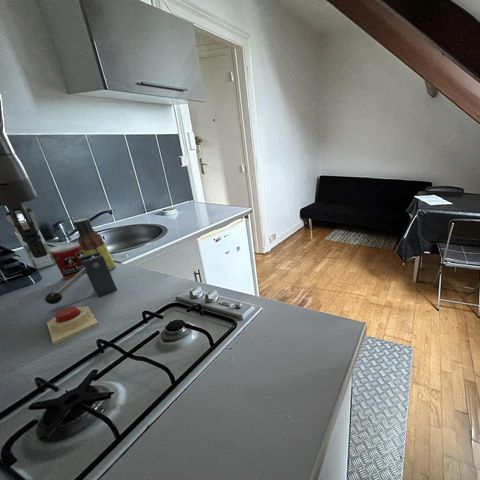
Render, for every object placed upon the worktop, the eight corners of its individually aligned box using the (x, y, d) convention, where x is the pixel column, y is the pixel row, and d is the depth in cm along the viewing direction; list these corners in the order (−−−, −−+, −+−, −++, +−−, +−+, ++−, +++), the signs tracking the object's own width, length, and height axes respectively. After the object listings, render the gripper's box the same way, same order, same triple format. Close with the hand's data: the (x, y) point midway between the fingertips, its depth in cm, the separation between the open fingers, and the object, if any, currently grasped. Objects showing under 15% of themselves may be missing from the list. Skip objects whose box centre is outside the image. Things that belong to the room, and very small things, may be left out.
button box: (50, 329, 65) (43, 316, 63) (90, 312, 70) (84, 299, 69) (57, 349, 58) (48, 335, 56) (101, 329, 63) (94, 316, 62)
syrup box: (53, 260, 104) (35, 226, 98) (56, 264, 100) (39, 229, 95) (33, 266, 99) (13, 231, 94) (36, 270, 96) (16, 234, 91)
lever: (55, 308, 68) (41, 302, 66) (53, 303, 70) (40, 298, 68) (104, 263, 74) (93, 256, 72) (101, 260, 76) (91, 253, 74)
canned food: (63, 283, 86) (48, 253, 81) (64, 275, 91) (50, 246, 87) (93, 274, 90) (80, 246, 86) (92, 267, 96) (79, 239, 92)
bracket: (88, 310, 71) (67, 269, 66) (81, 298, 77) (62, 260, 72) (133, 291, 79) (118, 253, 74) (124, 282, 84) (110, 246, 79)
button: (56, 318, 62) (53, 312, 62) (78, 310, 65) (75, 304, 65) (59, 325, 60) (56, 319, 59) (81, 316, 63) (78, 310, 62)
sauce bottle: (115, 267, 95) (94, 215, 87) (118, 272, 91) (96, 218, 83) (93, 274, 91) (68, 220, 83) (95, 280, 87) (69, 223, 79)
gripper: (-26, 179, 54) (16, 254, 61) (-30, 185, 46) (18, 271, 53) (26, 174, 59) (59, 244, 66) (30, 178, 51) (67, 257, 58)
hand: (41, 256), depth 59 cm, fingers closed
